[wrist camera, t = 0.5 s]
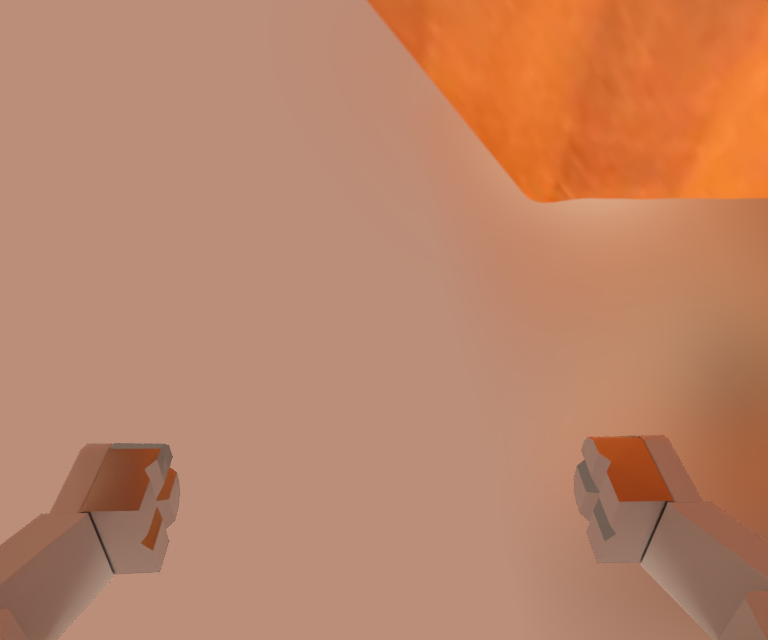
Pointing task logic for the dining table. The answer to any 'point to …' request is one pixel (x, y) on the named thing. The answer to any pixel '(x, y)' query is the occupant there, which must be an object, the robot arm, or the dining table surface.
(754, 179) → the dining table surface
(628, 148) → the dining table surface
